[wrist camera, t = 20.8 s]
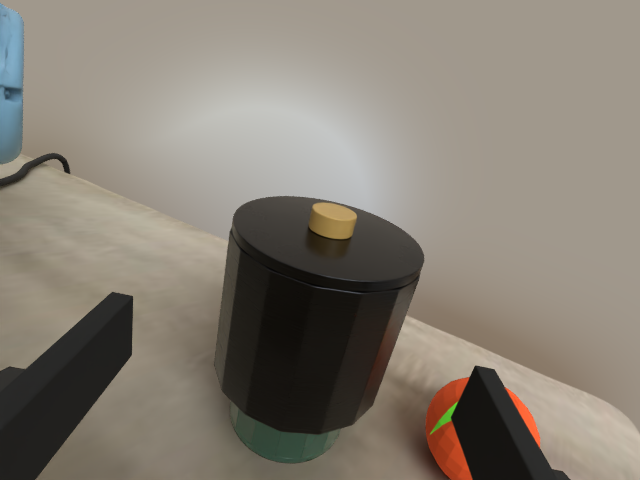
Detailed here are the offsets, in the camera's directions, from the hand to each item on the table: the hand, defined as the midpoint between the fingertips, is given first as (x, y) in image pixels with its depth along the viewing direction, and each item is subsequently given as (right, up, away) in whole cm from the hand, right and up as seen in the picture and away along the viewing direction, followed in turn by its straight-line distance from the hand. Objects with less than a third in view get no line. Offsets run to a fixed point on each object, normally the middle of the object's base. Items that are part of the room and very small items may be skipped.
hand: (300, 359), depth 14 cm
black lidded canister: (-1, -4, +11) cm, 12 cm away
